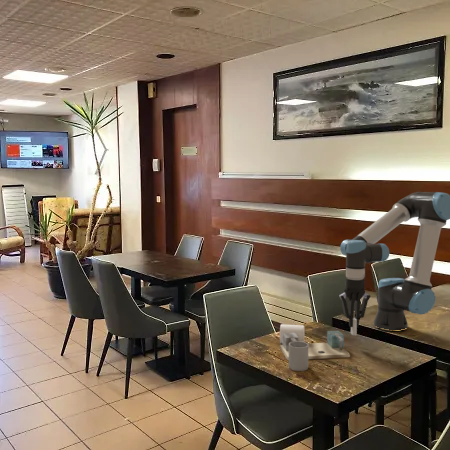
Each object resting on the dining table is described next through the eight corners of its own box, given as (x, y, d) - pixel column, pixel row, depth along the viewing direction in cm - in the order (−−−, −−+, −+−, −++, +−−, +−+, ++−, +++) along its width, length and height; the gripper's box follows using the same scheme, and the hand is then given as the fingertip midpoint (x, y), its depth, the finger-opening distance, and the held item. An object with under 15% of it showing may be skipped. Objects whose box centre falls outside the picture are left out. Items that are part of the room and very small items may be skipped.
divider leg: (338, 342, 204) (338, 330, 204) (347, 350, 194) (347, 338, 194) (327, 342, 204) (327, 331, 203) (335, 351, 194) (335, 339, 193)
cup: (295, 372, 177) (295, 349, 176) (281, 363, 186) (281, 340, 185) (312, 369, 180) (312, 346, 179) (297, 360, 189) (297, 337, 188)
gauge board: (337, 344, 205) (338, 329, 205) (349, 357, 191) (350, 340, 191) (279, 347, 202) (279, 332, 202) (287, 360, 189) (287, 344, 188)
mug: (303, 347, 203) (303, 328, 202) (279, 346, 205) (279, 327, 204) (304, 338, 215) (304, 320, 214) (282, 336, 217) (282, 319, 216)
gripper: (366, 275, 203) (365, 331, 206) (336, 276, 202) (335, 332, 204) (374, 279, 196) (372, 336, 198) (342, 280, 194) (341, 337, 197)
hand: (353, 334), depth 201 cm, fingers closed
